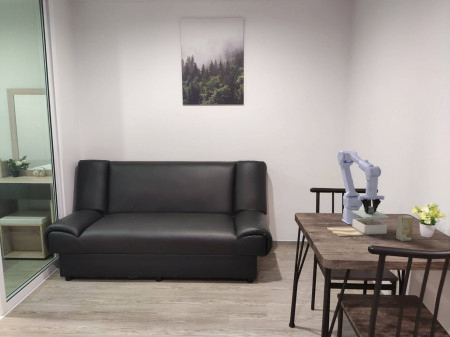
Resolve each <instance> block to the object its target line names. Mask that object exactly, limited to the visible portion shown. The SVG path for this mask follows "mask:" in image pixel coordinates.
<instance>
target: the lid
mask: <svg viewBox="0 0 450 337" xmlns="http://www.w3.org/2000/svg"><path fill="white" fill-rule="evenodd" d="M352 212H353V213H355V214H357V215H358V217H361V218H362V219H376V220H378V219H389V218H390V216H389V215H387V214H385V213H382V212H380V211H378V210H376V213H374V207H373V206H369V207H368V213H366V212H365V210H364V209H363V210H360V209H359V211H352Z"/></svg>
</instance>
